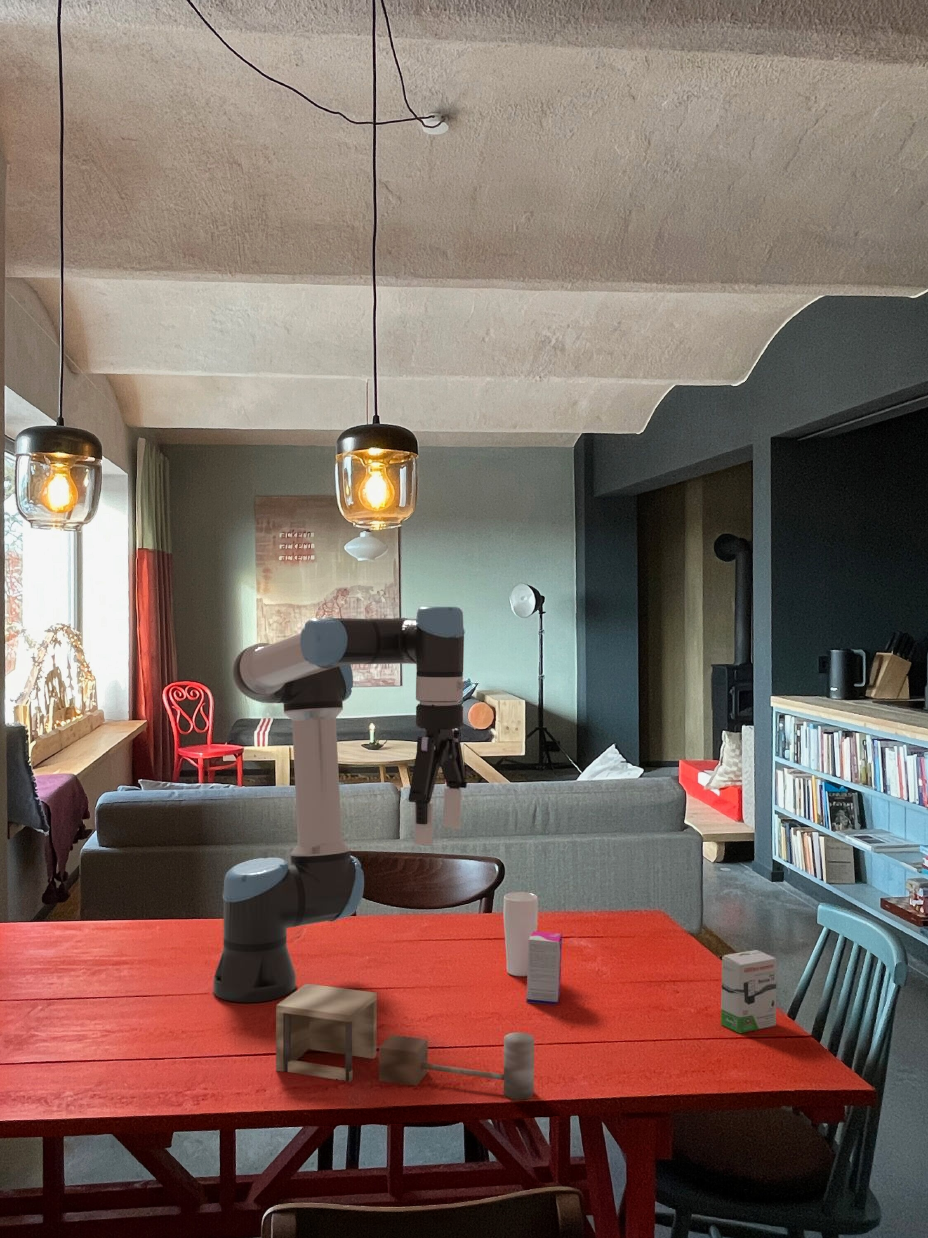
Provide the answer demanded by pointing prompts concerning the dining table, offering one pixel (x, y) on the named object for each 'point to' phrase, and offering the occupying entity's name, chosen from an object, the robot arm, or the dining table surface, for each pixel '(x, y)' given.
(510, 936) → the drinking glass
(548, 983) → the supplement box
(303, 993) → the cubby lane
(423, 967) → the dining table surface
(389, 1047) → the tethered cylinder
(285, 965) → the robot arm
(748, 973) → the ink box
